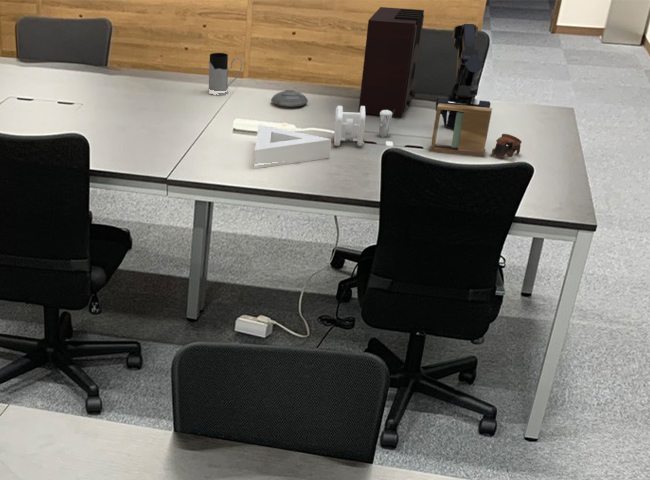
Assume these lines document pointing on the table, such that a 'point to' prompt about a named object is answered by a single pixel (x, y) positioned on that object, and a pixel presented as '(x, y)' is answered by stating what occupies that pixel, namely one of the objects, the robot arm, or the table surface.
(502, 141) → the brown miniature stool
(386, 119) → the milkshake
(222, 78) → the glass holder
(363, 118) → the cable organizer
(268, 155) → the triangle block
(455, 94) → the robot arm
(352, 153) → the table surface
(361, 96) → the radio
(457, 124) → the door
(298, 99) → the flying saucer
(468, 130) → the door frame
